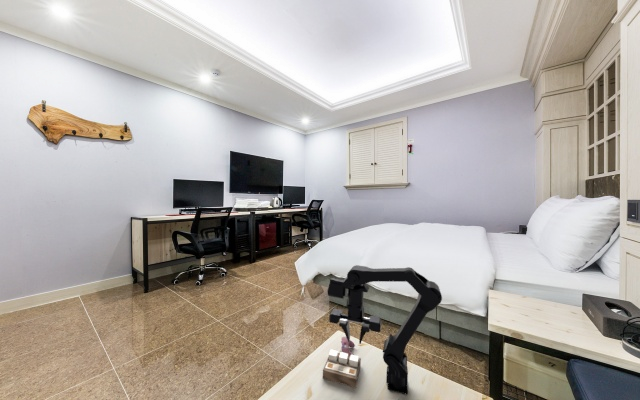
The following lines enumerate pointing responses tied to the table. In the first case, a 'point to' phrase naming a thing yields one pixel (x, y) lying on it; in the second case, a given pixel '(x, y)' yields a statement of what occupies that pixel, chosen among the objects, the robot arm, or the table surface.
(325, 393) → the table surface
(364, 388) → the table surface
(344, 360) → the key middle
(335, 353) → the key
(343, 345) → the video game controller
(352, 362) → the key
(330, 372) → the keypad
